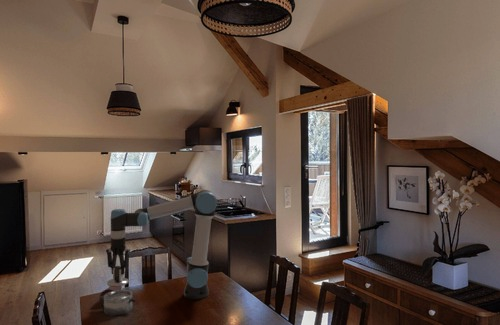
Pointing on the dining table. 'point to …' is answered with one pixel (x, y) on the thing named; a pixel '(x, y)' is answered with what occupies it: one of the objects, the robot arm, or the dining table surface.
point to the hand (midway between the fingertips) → (118, 280)
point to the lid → (117, 279)
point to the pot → (118, 302)
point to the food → (109, 291)
